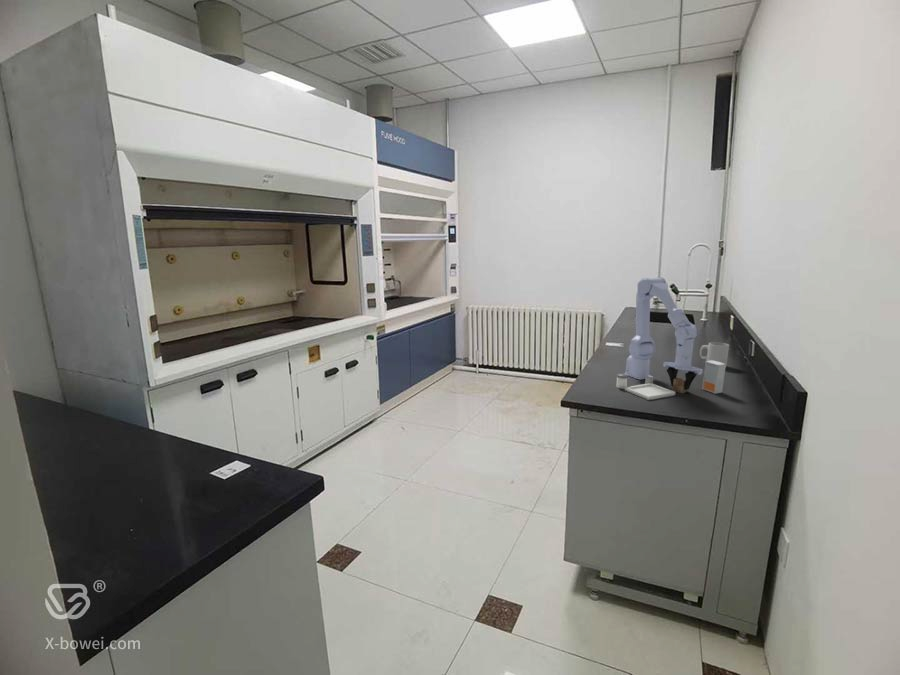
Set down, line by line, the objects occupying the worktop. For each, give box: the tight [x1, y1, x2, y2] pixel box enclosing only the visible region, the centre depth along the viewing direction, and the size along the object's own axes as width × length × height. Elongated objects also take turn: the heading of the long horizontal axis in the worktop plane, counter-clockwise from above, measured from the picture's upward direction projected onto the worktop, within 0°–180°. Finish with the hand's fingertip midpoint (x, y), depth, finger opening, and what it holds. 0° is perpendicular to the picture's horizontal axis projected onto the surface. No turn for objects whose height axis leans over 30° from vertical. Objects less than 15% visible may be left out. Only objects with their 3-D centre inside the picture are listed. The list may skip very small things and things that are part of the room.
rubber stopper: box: [644, 377, 654, 384], centre depth 187 cm, size 3×3×3 cm
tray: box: [624, 383, 676, 401], centre depth 177 cm, size 12×14×1 cm
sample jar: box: [615, 373, 629, 390], centre depth 184 cm, size 4×4×5 cm
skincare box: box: [701, 360, 727, 394], centre depth 178 cm, size 6×4×12 cm
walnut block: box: [671, 376, 688, 394], centre depth 179 cm, size 4×4×5 cm
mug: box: [699, 341, 730, 369], centre depth 214 cm, size 12×8×11 cm
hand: (680, 387), depth 179 cm, fingers open, 5 cm apart
